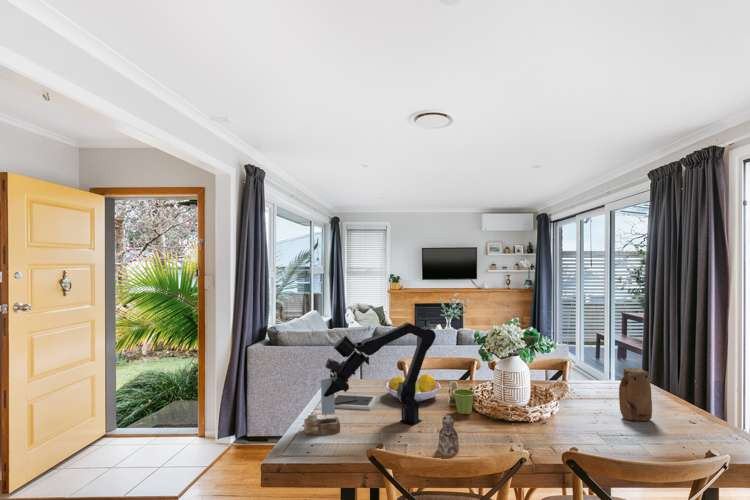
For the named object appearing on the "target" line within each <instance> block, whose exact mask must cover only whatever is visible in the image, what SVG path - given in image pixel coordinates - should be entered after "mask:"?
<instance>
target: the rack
mask: <svg viewBox="0 0 750 500" xmlns="http://www.w3.org/2000/svg"><path fill="white" fill-rule="evenodd" d="M317 422H318V432H309V433H306V431H305V426H304V429H303V431H304V436H306V437H307V436H316V435H327V434H336V433H338V434H339V433H341V422H340V419H339V417H337V416H336V417H326V418H317Z"/></svg>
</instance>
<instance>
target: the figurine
mask: <svg viewBox="0 0 750 500" xmlns="http://www.w3.org/2000/svg"><path fill="white" fill-rule="evenodd" d="M441 422H442V423H441V424H442V427H441V429H440V430H439V433H438V443H437V446H438V447H437V449H438V452H440V453H441V454H442V455H444V454H445V455H446V456H454V455H453V454H455V455H457V453H459V452H460V442H459V434H458V431H457V430H456V428H454V427H455V425H454V423H455V420H454V419H453V416H451V413H450V412H447V413H446V415H444V416H443V418H442V420H441Z"/></svg>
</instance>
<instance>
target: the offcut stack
mask: <svg viewBox="0 0 750 500" xmlns="http://www.w3.org/2000/svg"><path fill="white" fill-rule="evenodd" d="M317 419H318V416H317V414H310V415H308V416H307V418H304V419H303V420H304V427H305V431H306V433H309V432H318V422H317ZM305 431H304V432H305Z"/></svg>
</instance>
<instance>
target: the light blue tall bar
mask: <svg viewBox="0 0 750 500" xmlns="http://www.w3.org/2000/svg"><path fill="white" fill-rule="evenodd" d="M331 379H334V377H330V376H329V377H320V390H321V391H320V392H321V399H320V400H321V402H320V403H321V415H322V416H323V415H324V416H325V415H335V414H336V411H335V410H336V408H335V393H334V394H332V395H330V396H327V397H325V396H324V394H325V392H326V391H327V389H328V388H329V387H330V385H331V383H332V382H331Z"/></svg>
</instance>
